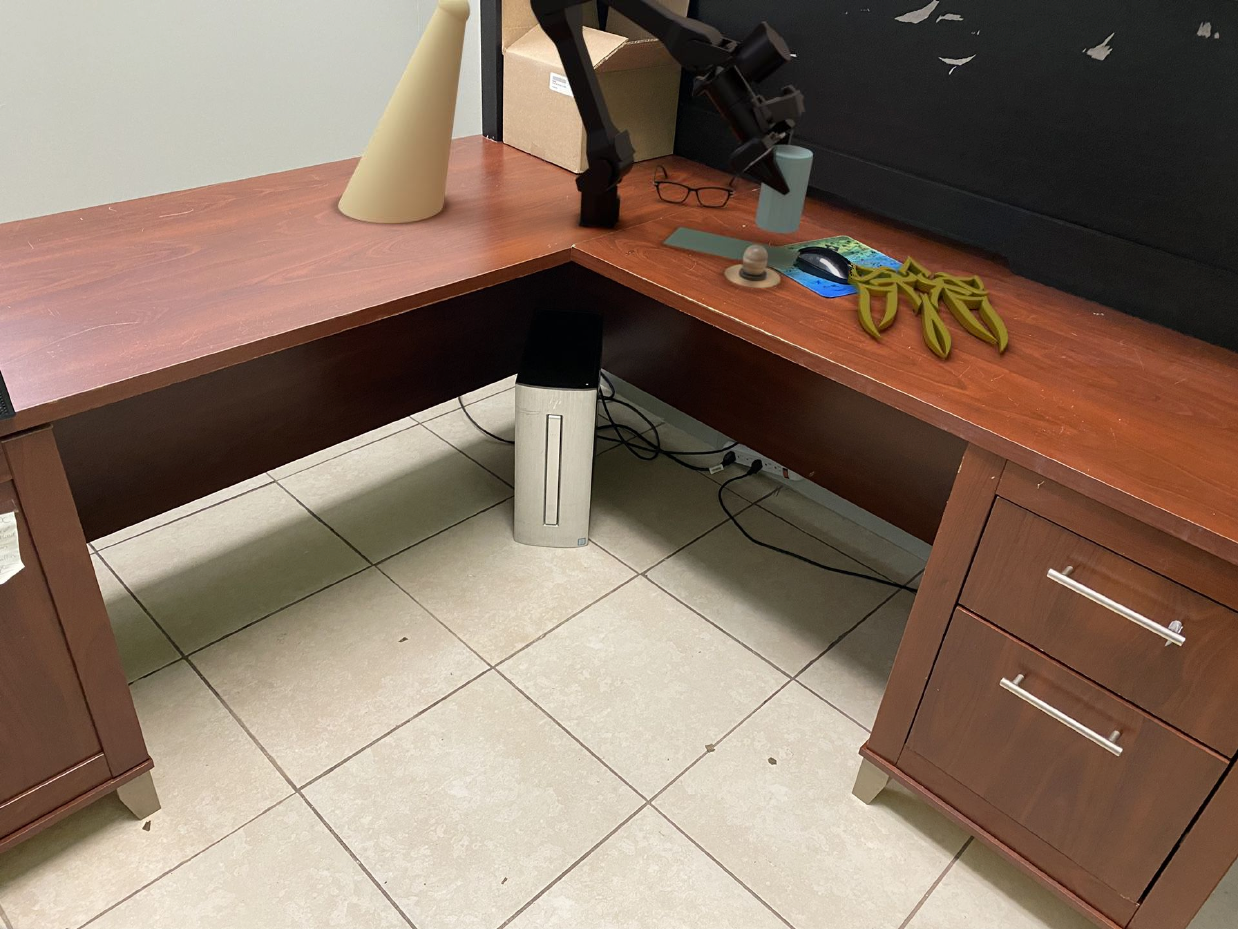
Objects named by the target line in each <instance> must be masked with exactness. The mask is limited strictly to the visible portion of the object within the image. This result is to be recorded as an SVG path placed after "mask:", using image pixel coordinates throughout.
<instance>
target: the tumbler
mask: <svg viewBox="0 0 1238 929" xmlns="http://www.w3.org/2000/svg"><path fill="white" fill-rule="evenodd" d="M776 146H777V153H776V162H777V164H778V166H779V168H780V170H781V172H782V174H783V176H784V178H785V180H786V183H787V185H788V187H789V189H790V192H789V193H788V194H786V195H782V194H781V193H779V192H777V191H776V190H774V189H772V188H771V187H769V186H767V185H766V184H764V183H762V182H761V186H760V191H759V198H758V204H757V210H756V215H755V221H754V222H755V225H756V226H757V228H759V229H761V230H763V231H765V232H770V233H775V234H792V233H796V232H797V231H798V230H799V228H800V225H801V220H802V215H803V210H804V204H805V199H806V195H807V189H808V184H809V180H810V174H811V170H812V165H813V160H814V157H813V156H814V153H813V152H812V151H811V150H810V149H807V148H805V147H802V146H797V145H792V144H790V145H774V146H772V147H771V149H773V148H774V147H776Z"/></svg>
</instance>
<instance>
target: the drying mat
mask: <svg viewBox="0 0 1238 929" xmlns="http://www.w3.org/2000/svg"><path fill="white" fill-rule="evenodd" d="M662 244H664V245H668V246H673V247H677V248H681V249H686V250H690V251H695V252H699V253H705V254H709V255H714V256H719V257H722V258H727V259H731V260H736V261H741V262H743V256H744V253H745V251H746V249H747V248H748V247H750V246H752V245H760V246H762V247H764V248H765V249H766V251H767V254H768V259H767V265H766V267H768V268H772V269H773V268H774V269H778V270H783V271H788V272H789V271H790V270H791V268H792V267H793V265H794V263H795V262H796V261H797V259H798V258H799V256H800V255H801V252H800V251H798V250H797V251H796V250H791V249H787V248H783V247H778V246H772V245H767V244H763V243H759V242H755V241H754V242H753V241H749V240H744V239H739V238H735V237H729V236H725V235H721V234H715V233H712V232H711V233H710V232H705V231H701V230H698V229H697V230H696V229H692V228H687V227H683V226H678V228H677V229H676V230H675V231H674V232H673V233H672V234H670V236H669V237H668V238H666V239H665V240H664V241H663V242H662Z"/></svg>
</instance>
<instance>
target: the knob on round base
mask: <svg viewBox="0 0 1238 929" xmlns="http://www.w3.org/2000/svg"><path fill="white" fill-rule="evenodd" d="M767 259H768V254H767V251H766V249H765V248H764V247H762V246H760V245H752V246H750V247H748V248H747V249H746V251H745V253H744V256H743V261H741V262H742V264H741V263H740V264H734V265H731V266H728V267H727V268H726V269H725V270H724V272H723V274H724V277H725V278H726V280H728V281H729V282H731V283H733V284H735V285H738V286H741V287H746V288H751V289H768V288H773V287H776V286H778V285H779V284H780V283H781V276H780V274H779V273H778V272H776V271H775V270H773V269H771V268H769V267H767V266H766V265H767Z"/></svg>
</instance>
